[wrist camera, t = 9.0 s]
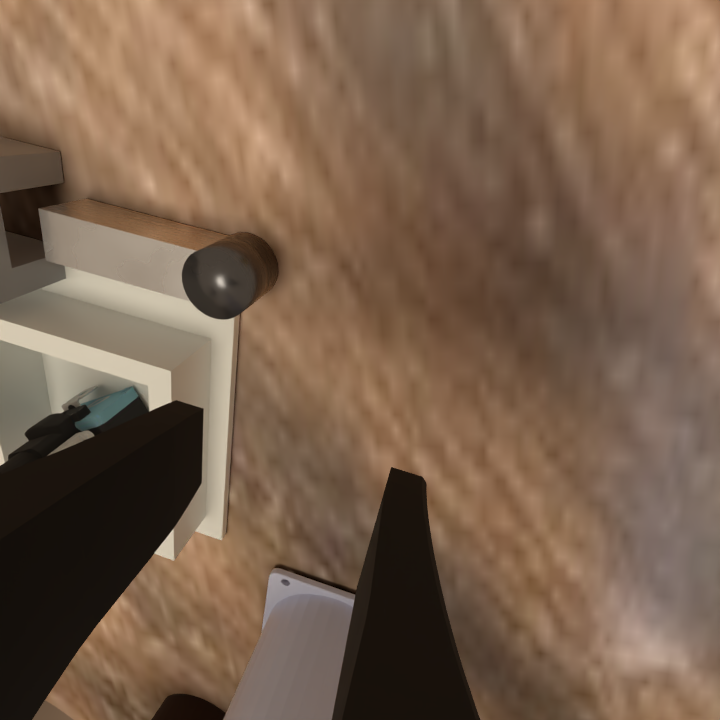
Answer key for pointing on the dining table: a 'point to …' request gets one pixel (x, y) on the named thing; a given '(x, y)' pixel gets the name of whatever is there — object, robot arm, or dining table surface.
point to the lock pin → (160, 255)
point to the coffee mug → (187, 709)
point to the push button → (76, 425)
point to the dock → (108, 348)
